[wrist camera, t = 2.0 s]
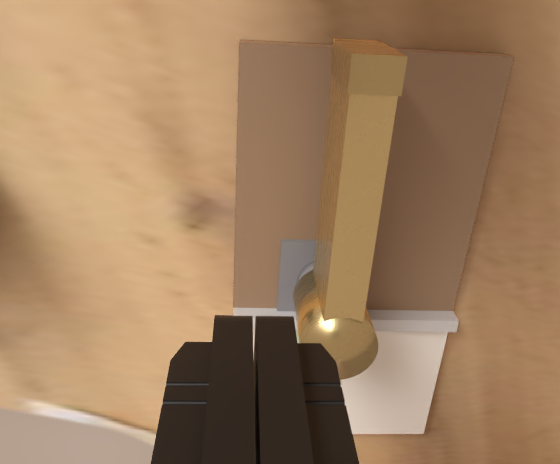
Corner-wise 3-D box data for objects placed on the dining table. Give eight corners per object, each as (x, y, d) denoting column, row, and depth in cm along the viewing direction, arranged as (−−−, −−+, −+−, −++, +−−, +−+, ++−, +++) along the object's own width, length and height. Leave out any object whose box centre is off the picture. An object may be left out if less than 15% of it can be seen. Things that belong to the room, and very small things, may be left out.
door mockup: (239, 39, 25) (238, 50, 22) (505, 53, 26) (543, 67, 23) (230, 422, 36) (229, 470, 33) (419, 422, 37) (436, 468, 34)
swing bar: (355, 322, 30) (373, 381, 26) (290, 322, 30) (298, 381, 25) (396, 40, 23) (429, 57, 19) (314, 36, 23) (329, 52, 19)
